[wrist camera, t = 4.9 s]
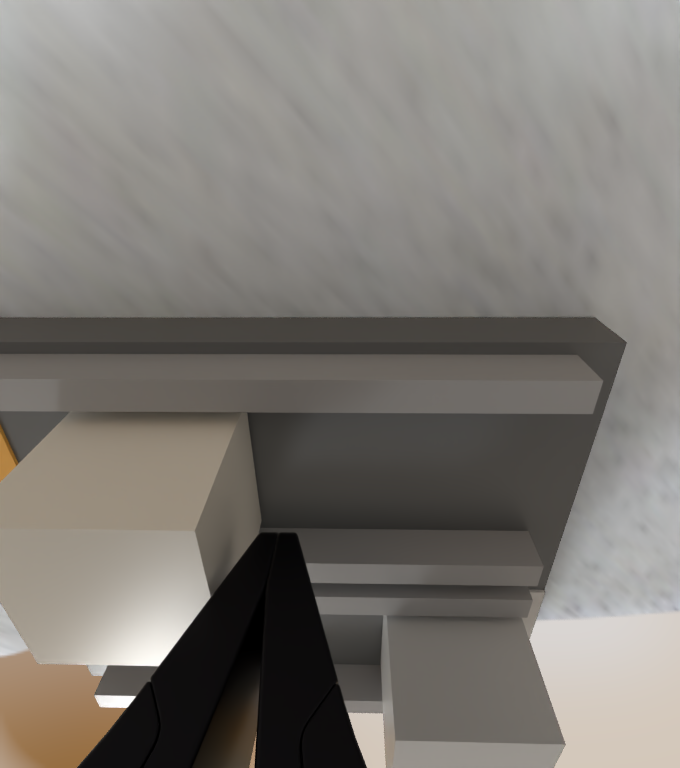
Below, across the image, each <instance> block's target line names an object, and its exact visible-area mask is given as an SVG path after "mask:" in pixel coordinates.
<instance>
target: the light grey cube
mask: <svg viewBox="0 0 680 768" xmlns="http://www.w3.org/2000/svg"><path fill="white" fill-rule="evenodd" d="M380 663H381V682H382V701H383V720H384V739H385V758H386V768H554V766H555V764H556V763H557V760H558V758H559V757H560V754H561V753H562V751H563V749H564V747H565V741H564V739H563V736H562V733H561V730H560V727H559V724H558V721H557V718H556V716H555V713H554V710H553V707H552V704H551V701H550V698H549V695H548V693H547V690H546V687H545V684H544V681H543V678H542V675H541V672H540V669H539V666H538V664H537V660H536V658H535V655H534V652H533V649H532V646H531V643H530V641H529V637H528V634H527V632H526V629H525V626H524V623H523V620H522V618H517V617H456V616H395V615H383V628H382V644H381V661H380Z"/></svg>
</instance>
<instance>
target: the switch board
mask: <svg viewBox="0 0 680 768" xmlns="http://www.w3.org/2000/svg"><path fill="white" fill-rule="evenodd" d="M626 343H627V342H625V341H624V340H623V339H622V338H620V337H619V336H618V335H617V334H615V333H614V332H613V331H611V330H610V329H609V328H608V327H606V326H605V325H604V324H602V323H601V322H600V321H599V320H597V319H596V318H0V482H1V481H2V480H3V479H4V478H5V477H6V476H7V475H8V474H9V473H10V472H11V471H12V470H13V469H14V468H15V467H16V466H17V465H18V464H19V463H20V462H21V461H22V460H23V459H24V458H25V457H26V456H27V455H28V454H29V453H30V452H31V451H32V450H33V449H34V448H35V447H36V446H37V445H38V444H39V443H40V442H41V441H42V440H43V439H44V438H45V437H46V436H47V435H48V434H49V433H50V432H51V431H52V430H53V429H54V428H55V427H56V426H57V425H58V424H59V423H60V422H61V421H62V420H63V419H64V418H65V417H66V416H67V415H68V414H69V413H70V412H247V416H248V423H249V431H250V438H251V446H252V453H253V460H254V468H255V475H256V483H257V490H258V498H259V505H260V513H261V520H262V521H261V525H260V530H259V533H261V532H277V533H280V532H295V533H297V535H298V538H299V541H300V545H301V548H302V552H303V555H304V559H305V563H306V566H307V570H308V573H309V577H310V581H311V584H312V588H313V591H314V595H315V599H316V602H317V606H318V609H319V613H320V617H321V620H322V624H323V627H324V631H325V634H326V638H327V642H328V645H329V649H330V652H331V656H332V660H333V663H334V667H335V670H336V674H337V678H338V684H339V685H340V688H341V691H342V695H343V698H344V702H345V706H346V709H347V712H352V713H383V701H382V682H381V663H380V661H381V644H382V628H383V615H395V616H456V617H517V618H522V620H523V623H524V626H525V629H526V632H527V634H528V637H529V639H530V636H531V633H532V630H533V627H534V624H535V621H536V619H537V616H538V613H539V610H540V607H541V604H542V601H543V598H544V595H545V591H544V588H545V585H546V582H547V580H548V577H549V574H550V571H551V568H552V565H553V562H554V559H555V556H556V553H557V550H558V547H559V544H560V541H561V538H562V535H563V532H564V529H565V526H566V523H567V520H568V517H569V514H570V511H571V508H572V505H573V502H574V499H575V496H576V493H577V490H578V487H579V484H580V481H581V478H582V475H583V472H584V469H585V466H586V463H587V460H588V457H589V454H590V451H591V448H592V445H593V442H594V439H595V436H596V433H597V430H598V427H599V424H600V421H601V418H602V415H603V412H604V409H605V406H606V403H607V400H608V397H609V394H610V391H611V388H612V385H613V382H614V379H615V376H616V373H617V370H618V367H619V364H620V361H621V358H622V355H623V352H624V349H625V346H626ZM87 667H88V669H89V671H90V673H91V675H93V676H103V677H102V679H101V681H100V683H99V686H98V688H97V690H96V692H95V694H94V696H95V698H96V700H97V702H98V704H99V705H100V707H121V708H123V707H124V708H127V707H128V706H129V705H130V703H131V702H132V701H133V699H134V698H135V697H136V695H137V694H138V693H139V691H140V690H141V689H142V687H143V686H144V685H145V683H146V682H147V681H150V677H151V676H152V674H153V673H154V672H155V670H156V669H157V668H158V666H127V665H87ZM150 682H151V681H150Z"/></svg>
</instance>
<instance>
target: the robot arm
mask: <svg viewBox="0 0 680 768" xmlns="http://www.w3.org/2000/svg"><path fill="white" fill-rule="evenodd" d="M150 681H151V682H150ZM150 681H147V682H146V683H145V685H144V686H143V687H142V689H141V690H140V691H139V693H138V694H137V695H136V697H135V698H134V699H133V701H132V702H131V703H130V705H129V706H128V707H127V708H126V710H125V711H124V712H123V714H122V715H121V716H120V717H119V719H118V720H117V721H116V722H115V724H114V725H113V726H112V727H111V729H110V730H109V731H108V732H107V734H106V735H105V736H104V737H103V738H102V739H101V741H100V742H99V743H98V744H97V745H96V746H95V748H94V749H93V750H92V751H91V752H90V753H89V754H88V756H87V757H86V758H85V759H84V760H83V761H82V762H81V764H80V765H79V766H78V767H77V768H249V765H250V760H251V755H252V751H253V746H254V741H255V737H256V736H257V737H256V752H255V768H367V767H366V764H365V761H364V759H363V756H362V753H361V751H360V748H359V746H358V743H357V740H356V738H355V735H354V731H353V728H352V725H351V722H350V719H349V715H348V712H347V709H346V706H345V702H344V698H343V695H342V691H341V688H340V685H339V684H338V678H337V674H336V670H335V667H334V663H333V660H332V656H331V652H330V649H329V645H328V642H327V638H326V634H325V631H324V627H323V624H322V620H321V617H320V613H319V609H318V606H317V602H316V599H315V595H314V591H313V588H312V584H311V581H310V577H309V573H308V570H307V566H306V563H305V559H304V555H303V552H302V548H301V545H300V541H299V538H298V535H297V533H295V532H280V533H277V532H261V533H259V534H258V535H257V537H256V538H255V539H254V541H253V542H252V543H251V544H250V546H249V547H248V548H247V550H246V551H245V552H244V554H243V555H242V556H241V558H240V559H239V560H238V562H237V563H236V564H235V566H234V567H233V568H232V570H231V571H230V572H229V574H228V575H227V576H226V578H225V579H224V580H223V582H222V583H221V584H220V586H219V587H218V588H217V590H216V591H215V592H214V594H213V595H212V596H211V598H210V599H209V600H208V602H207V603H206V604H205V605H204V607H203V608H202V609H201V611H200V612H199V613H198V615H197V616H196V617H195V619H194V620H193V621H192V623H191V624H190V625H189V627H188V628H187V629H186V631H185V632H184V633H183V635H182V636H181V637H180V639H179V640H178V641H177V643H176V644H175V645H174V647H173V648H172V649H171V651H170V652H169V653H168V655H167V656H166V657H165V659H164V660H163V661H162V662H161V664H160V665H159V666H158V668H157V669H156V670H155V672H154V673H153V674H152V676H151V677H150ZM256 732H257V735H256Z"/></svg>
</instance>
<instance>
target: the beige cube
mask: <svg viewBox="0 0 680 768" xmlns="http://www.w3.org/2000/svg"><path fill="white" fill-rule="evenodd" d="M261 521H262V520H261V513H260V505H259V498H258V490H257V483H256V475H255V468H254V460H253V453H252V446H251V438H250V431H249V423H248V416H247V412H70V413H69V414H68V415H67V416H66V417H65V418H64V419H63V420H62V421H61V422H60V423H59V424H58V425H57V426H56V427H55V428H54V429H53V430H52V431H51V432H50V433H49V434H48V435H47V436H46V437H45V438H44V439H43V440H42V441H41V442H40V443H39V444H38V445H37V446H36V447H35V448H34V449H33V450H32V451H31V452H30V453H29V454H28V455H27V456H26V457H25V458H24V459H23V460H22V461H21V462H20V463H19V464H18V465H17V466H16V467H15V468H14V469H13V470H12V471H11V472H10V473H9V474H8V475H7V476H6V477H5V478H4V479H3V480H2V481H1V482H0V603H1V604H2V606H3V608H4V609H5V611H6V613H7V614H8V616H9V617H10V619H11V621H12V622H13V624H14V626H15V627H16V629H17V631H18V632H19V634H20V635H21V637H22V639H23V640H24V642H25V644H26V645H27V647H28V649H29V650H30V652H31V653H32V655H33V657H34V658H35V660H36V661H37V663H38V664H78V665H127V666H159V665H160V664H161V662H162V661H163V660H164V659H165V657H166V656H167V655H168V653H169V652H170V651H171V649H172V648H173V647H174V645H175V644H176V643H177V641H178V640H179V639H180V637H181V636H182V635H183V633H184V632H185V631H186V629H187V628H188V627H189V625H190V624H191V623H192V621H193V620H194V619H195V617H196V616H197V615H198V613H199V612H200V611H201V609H202V608H203V607H204V605H205V604H206V603H207V602H208V600H209V599H210V598H211V596H212V595H213V594H214V592H215V591H216V590H217V588H218V587H219V586H220V584H221V583H222V582H223V580H224V579H225V578H226V576H227V575H228V574H229V572H230V571H231V570H232V568H233V567H234V566H235V564H236V563H237V562H238V560H239V559H240V558H241V556H242V555H243V554H244V552H245V551H246V550H247V548H248V547H249V546H250V544H251V543H252V542H253V541H254V539H255V538H256V537H257V535H258V534H259V530H260V525H261Z"/></svg>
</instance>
